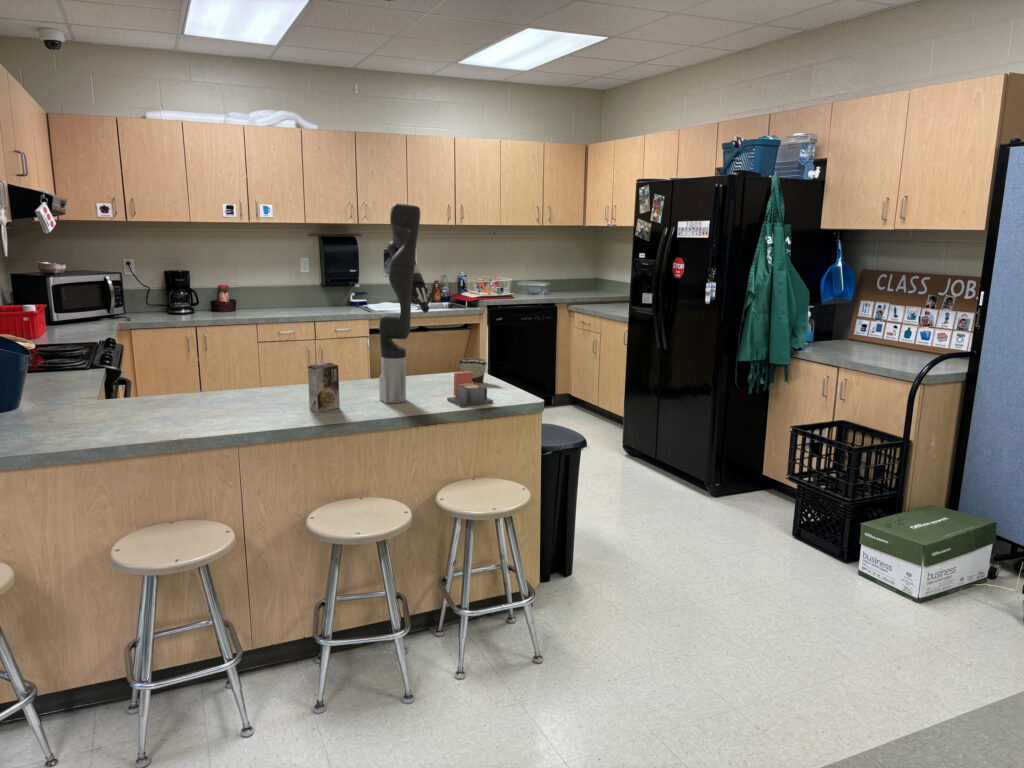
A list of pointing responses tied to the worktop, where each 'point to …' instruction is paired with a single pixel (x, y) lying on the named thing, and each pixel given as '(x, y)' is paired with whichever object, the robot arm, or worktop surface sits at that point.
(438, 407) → the worktop surface
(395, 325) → the robot arm
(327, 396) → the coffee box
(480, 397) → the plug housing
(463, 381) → the red plug
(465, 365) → the food container
